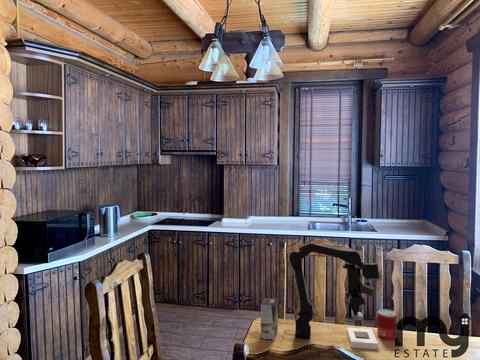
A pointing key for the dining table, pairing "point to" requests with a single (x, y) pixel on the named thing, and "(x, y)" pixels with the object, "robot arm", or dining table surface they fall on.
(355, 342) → the well
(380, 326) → the canned food
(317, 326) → the dining table surface
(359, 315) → the bracket
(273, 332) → the coffee box
